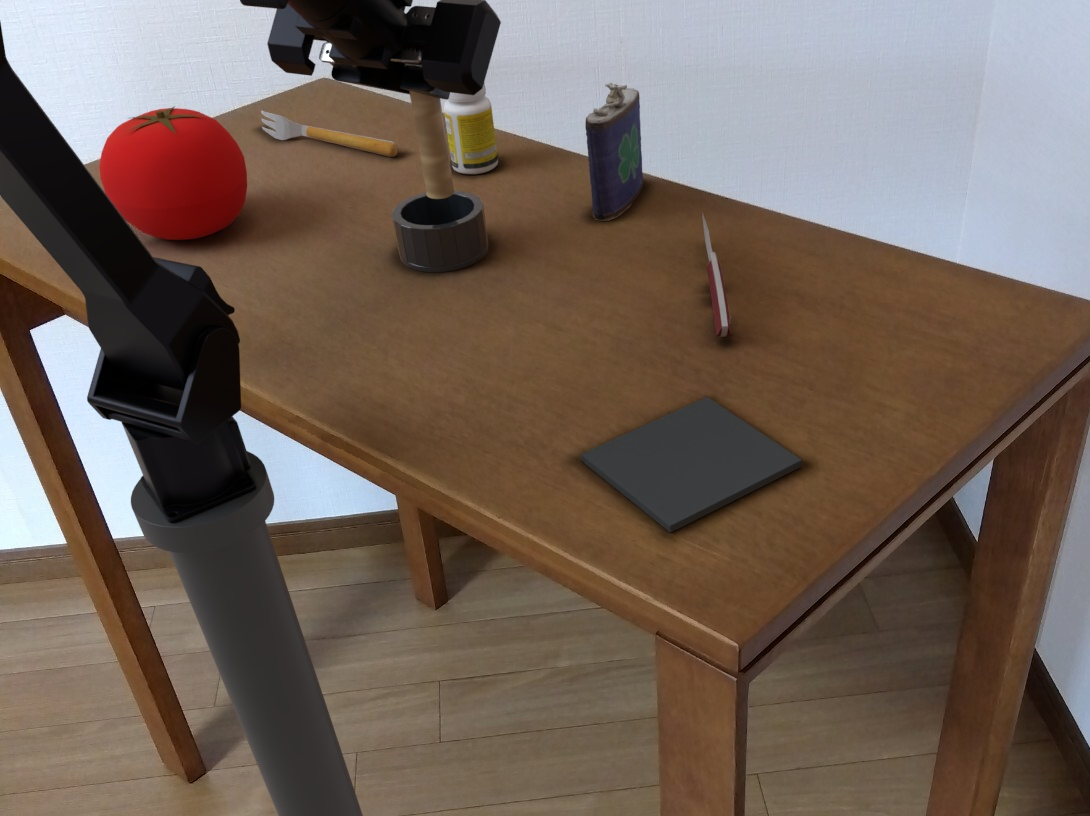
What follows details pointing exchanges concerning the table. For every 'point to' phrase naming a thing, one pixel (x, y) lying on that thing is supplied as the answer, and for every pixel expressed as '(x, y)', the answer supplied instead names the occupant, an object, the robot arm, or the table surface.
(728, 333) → the knife
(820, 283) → the table surface
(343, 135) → the fork
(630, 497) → the mat
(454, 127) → the supplement bottle
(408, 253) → the cup
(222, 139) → the tomato
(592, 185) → the flask
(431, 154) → the muddler
